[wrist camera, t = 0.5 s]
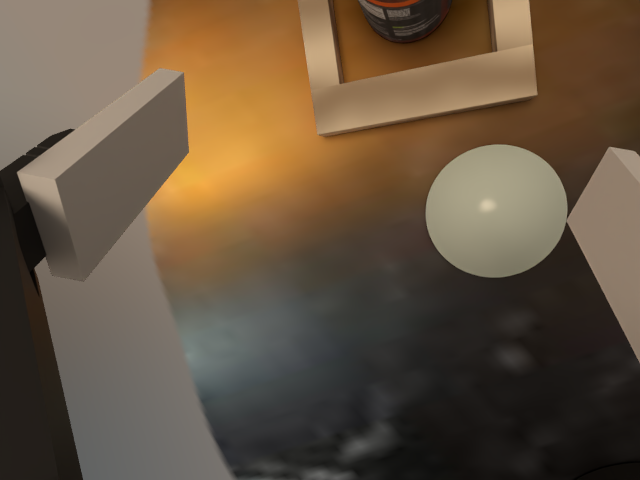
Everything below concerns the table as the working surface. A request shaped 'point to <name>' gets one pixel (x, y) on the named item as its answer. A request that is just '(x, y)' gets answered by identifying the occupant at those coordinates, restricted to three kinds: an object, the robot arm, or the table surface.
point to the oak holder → (417, 75)
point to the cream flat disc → (496, 211)
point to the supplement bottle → (404, 17)
